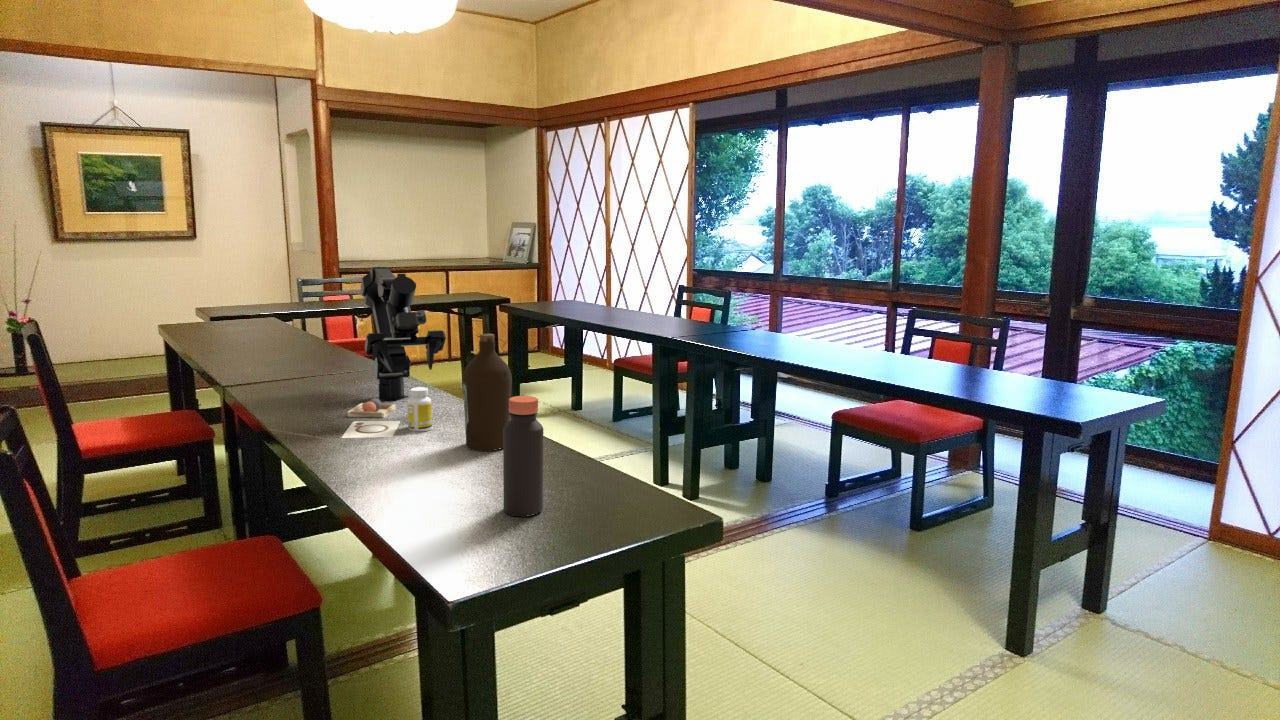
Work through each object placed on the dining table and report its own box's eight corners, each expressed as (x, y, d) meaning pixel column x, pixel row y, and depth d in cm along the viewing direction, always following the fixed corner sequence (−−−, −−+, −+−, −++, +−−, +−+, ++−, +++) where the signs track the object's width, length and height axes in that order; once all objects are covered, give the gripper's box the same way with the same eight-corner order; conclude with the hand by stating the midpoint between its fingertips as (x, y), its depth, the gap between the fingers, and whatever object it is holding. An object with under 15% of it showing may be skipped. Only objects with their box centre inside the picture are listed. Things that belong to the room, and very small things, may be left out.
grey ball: (374, 408, 194) (373, 396, 194) (384, 410, 193) (383, 397, 193) (365, 411, 191) (365, 399, 191) (375, 412, 190) (375, 400, 190)
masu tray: (361, 409, 195) (361, 403, 195) (396, 410, 195) (395, 404, 195) (347, 418, 186) (347, 411, 186) (384, 419, 186) (383, 412, 186)
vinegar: (508, 520, 127) (508, 405, 123) (499, 506, 133) (499, 395, 129) (547, 515, 129) (548, 402, 126) (536, 501, 135) (537, 393, 132)
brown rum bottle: (514, 439, 173) (514, 331, 168) (508, 453, 163) (508, 338, 158) (468, 438, 173) (466, 330, 168) (459, 452, 162) (457, 337, 158)
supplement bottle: (435, 426, 181) (434, 387, 179) (426, 433, 176) (426, 392, 174) (413, 425, 181) (412, 386, 180) (404, 431, 176) (403, 390, 174)
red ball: (368, 412, 191) (368, 399, 190) (379, 413, 190) (378, 401, 189) (360, 414, 188) (359, 402, 187) (370, 416, 187) (370, 403, 186)
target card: (353, 423, 182) (353, 421, 182) (400, 422, 184) (400, 420, 184) (341, 439, 168) (341, 437, 168) (392, 438, 170) (392, 436, 170)
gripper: (365, 300, 179) (375, 353, 172) (443, 298, 188) (456, 348, 181) (360, 328, 187) (370, 380, 180) (435, 325, 196) (448, 374, 189)
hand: (411, 370), depth 182 cm, fingers open, 9 cm apart
